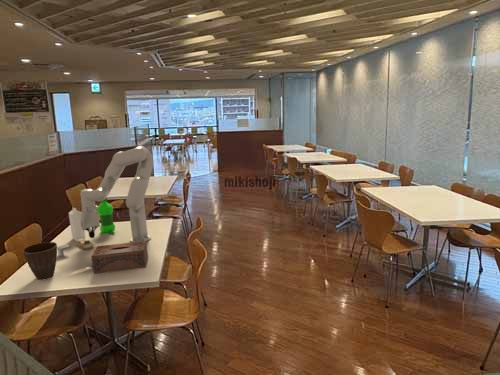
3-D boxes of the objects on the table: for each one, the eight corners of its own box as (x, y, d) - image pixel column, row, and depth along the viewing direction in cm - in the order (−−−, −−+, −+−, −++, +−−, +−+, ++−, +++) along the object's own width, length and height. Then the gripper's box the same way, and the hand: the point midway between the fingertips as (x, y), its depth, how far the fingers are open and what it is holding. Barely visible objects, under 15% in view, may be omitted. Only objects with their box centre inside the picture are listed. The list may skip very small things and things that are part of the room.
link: (93, 248, 221) (92, 241, 220) (85, 250, 218) (83, 243, 217) (84, 242, 232) (83, 235, 231) (75, 244, 229) (74, 237, 228)
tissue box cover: (93, 274, 188) (91, 256, 186) (99, 263, 202) (97, 246, 200) (145, 268, 192) (143, 250, 190) (148, 257, 206) (146, 240, 204)
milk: (76, 242, 237) (71, 209, 232) (72, 240, 241) (67, 208, 236) (86, 240, 241) (80, 207, 236) (82, 238, 245) (77, 206, 240)
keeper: (71, 256, 213) (70, 246, 212) (61, 259, 209) (59, 249, 208) (69, 254, 217) (67, 244, 215) (58, 257, 213) (57, 246, 212)
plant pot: (66, 275, 188) (61, 245, 184) (34, 286, 177) (29, 255, 174) (55, 268, 198) (50, 240, 194) (24, 278, 187) (18, 248, 183)
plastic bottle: (97, 235, 249) (92, 199, 244) (107, 230, 259) (102, 195, 254) (109, 236, 246) (104, 199, 241) (119, 231, 256) (114, 196, 251)
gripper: (98, 205, 234) (101, 233, 237) (74, 210, 224) (77, 239, 227) (103, 207, 228) (106, 236, 232) (78, 212, 218) (81, 241, 222)
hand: (92, 237), depth 230 cm, fingers closed
